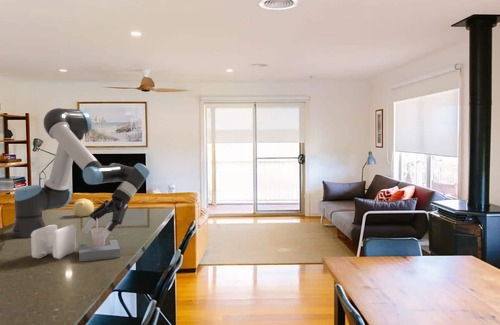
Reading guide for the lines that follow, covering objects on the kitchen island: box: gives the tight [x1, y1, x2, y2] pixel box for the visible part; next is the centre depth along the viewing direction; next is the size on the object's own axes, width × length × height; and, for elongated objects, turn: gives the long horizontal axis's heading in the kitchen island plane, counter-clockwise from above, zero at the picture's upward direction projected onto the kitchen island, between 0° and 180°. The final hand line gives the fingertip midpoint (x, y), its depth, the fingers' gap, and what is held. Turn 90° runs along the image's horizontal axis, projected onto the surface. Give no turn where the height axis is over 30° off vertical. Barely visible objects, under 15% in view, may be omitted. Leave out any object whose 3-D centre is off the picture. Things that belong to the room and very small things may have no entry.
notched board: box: [78, 239, 121, 262], centre depth 170 cm, size 16×15×4 cm
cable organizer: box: [30, 224, 77, 260], centre depth 167 cm, size 15×11×12 cm
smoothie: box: [89, 218, 106, 247], centre depth 173 cm, size 6×6×14 cm
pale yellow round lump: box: [72, 197, 95, 218], centre depth 252 cm, size 12×12×11 cm
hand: (93, 234), depth 171 cm, fingers open, 13 cm apart
